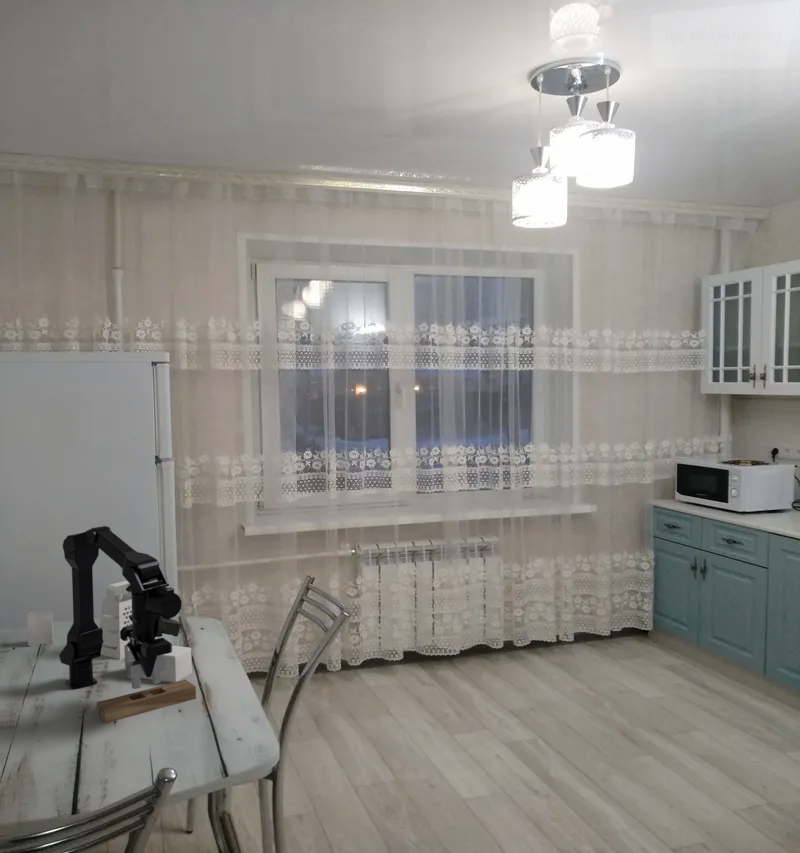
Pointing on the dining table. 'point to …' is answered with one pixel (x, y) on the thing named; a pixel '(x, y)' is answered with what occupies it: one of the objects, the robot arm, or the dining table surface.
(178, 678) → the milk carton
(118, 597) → the grater
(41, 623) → the pale grey block
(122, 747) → the dining table surface
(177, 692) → the rail
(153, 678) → the grey block
